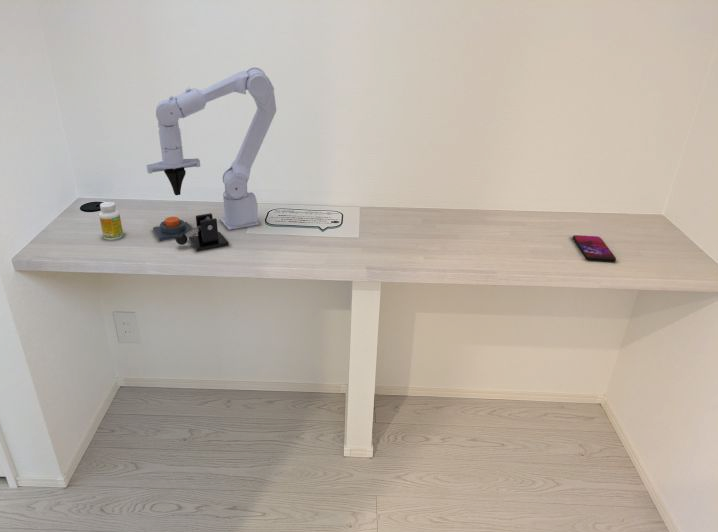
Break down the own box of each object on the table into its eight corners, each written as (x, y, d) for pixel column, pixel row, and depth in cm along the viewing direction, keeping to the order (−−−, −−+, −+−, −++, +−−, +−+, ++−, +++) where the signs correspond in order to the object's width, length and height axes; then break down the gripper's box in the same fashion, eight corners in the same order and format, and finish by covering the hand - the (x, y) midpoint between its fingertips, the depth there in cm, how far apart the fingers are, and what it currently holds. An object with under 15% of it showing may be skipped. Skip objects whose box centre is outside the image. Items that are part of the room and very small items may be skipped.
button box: (187, 225, 171) (186, 215, 169) (194, 235, 165) (193, 225, 163) (153, 231, 167) (151, 221, 165) (159, 241, 161) (158, 231, 159)
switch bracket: (196, 252, 155) (194, 225, 151) (188, 241, 162) (185, 215, 158) (228, 246, 159) (226, 220, 155) (219, 235, 165) (217, 209, 161)
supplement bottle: (117, 241, 161) (111, 208, 156) (99, 239, 162) (93, 206, 157) (126, 233, 165) (121, 201, 160) (109, 231, 166) (103, 199, 161)
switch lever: (180, 248, 155) (174, 239, 153) (177, 244, 158) (171, 235, 156) (215, 227, 157) (210, 218, 155) (212, 223, 160) (206, 214, 158)
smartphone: (599, 236, 165) (617, 259, 152) (599, 239, 166) (616, 262, 153) (572, 234, 166) (587, 257, 153) (571, 237, 166) (586, 260, 153)
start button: (177, 221, 167) (177, 215, 166) (181, 226, 164) (180, 220, 163) (164, 223, 165) (163, 217, 164) (167, 228, 162) (166, 223, 161)
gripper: (193, 140, 163) (198, 186, 170) (141, 145, 157) (148, 193, 164) (200, 146, 158) (205, 193, 164) (147, 152, 152) (154, 201, 159)
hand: (177, 194), depth 164 cm, fingers closed
